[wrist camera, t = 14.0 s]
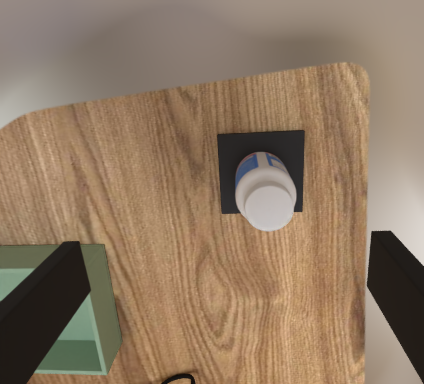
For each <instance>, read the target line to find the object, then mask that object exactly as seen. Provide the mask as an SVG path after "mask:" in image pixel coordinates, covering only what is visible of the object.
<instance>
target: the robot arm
mask: <svg viewBox="0 0 424 384" xmlns="http://www.w3.org/2000/svg"><path fill="white" fill-rule="evenodd" d="M367 287H368V289H369V291H370V292H371V294H372V296H373V297H374V299H375V301H376V303H377V304H378V306H379V308H380V310H381V311H382V313H383V315H384V316H385V318H386V320H387V321H388V323H389V325H390V327H391V329H392V330H393V332H394V334H395V335H396V337H397V339H398V341H399V342H400V344H401V346H402V347H403V349H404V351H405V353H406V354H407V356H408V358H409V360H410V361H411V363H412V365H413V367H414V368H415V370H416V372H417V373H418V375H419V377H420V378H421V380H422V382H423V384H424V266H423V265H422V264H421V263H420V262H419V261H418V260H417V259H416V258H415V256H414V255H413V254H412V253H411V252H410V251H409V250H408V249H407V248H406V247H405V246H404V245H403V244H402V242H401V241H400V240H399V239H398V238H397V237H396V236H395V235H394V234H393V233H392V232H391V231H372V233H371V244H370V256H369V267H368V278H367ZM90 292H91V287H90V283H89V279H88V274H87V270H86V266H85V262H84V258H83V254H82V250H81V246H80V242H79V241H68V242H63V243H62V244H61V245H60V246H59V247H58V248H57V249H56V250H55V251H54V252H52V253H51V254H50V255H49V256H48V257H47V258H46V259H45V260H44V261H43V262H42V263H41V264H40V265H39V266H38V267H37V268H35V269H34V270H33V271H32V272H31V273H30V274H29V275H28V276H27V277H26V278H25V279H24V280H23V281H22V282H21V283H20V284H19V285H17V286H16V287H15V288H14V289H13V290H12V291H11V292H10V293H9V294H8V295H7V296H6V297H5V298H4V299H3V300H2V301H0V384H26V383H27V382H28V381H29V379H30V378H31V376H32V375H33V373H34V372H35V371H36V369H37V368H38V366H39V365H40V363H41V362H42V360H43V359H44V358H45V356H46V355H47V353H48V352H49V350H50V349H51V348H52V346H53V345H54V343H55V342H56V340H57V339H58V338H59V336H60V335H61V333H62V332H63V330H64V329H65V327H66V326H67V325H68V323H69V322H70V320H71V319H72V317H73V316H74V315H75V313H76V312H77V310H78V309H79V307H80V306H81V305H82V303H83V302H84V300H85V299H86V297H87V296H88V294H89V293H90Z"/></svg>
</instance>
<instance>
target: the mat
mask: <svg viewBox="0 0 424 384" xmlns="http://www.w3.org/2000/svg"><path fill="white" fill-rule="evenodd" d="M304 134H305V131H304V130H295V131H274V132H254V133H234V134H218V135H217V139H218V157H219V174H220V192H221V209H222V214H236V213H241V212H240V211H239V209H238V207H237V204H236V198H235V179H236V171H237V168H238V166H239V164H240V162H241V161H242V160H243V159H244V158H245V157H247V156H248V155H250V154H252V153H256V152H267V153H270V154H273V155H275V156H276V157H278V158H279V159H280V160H281V162H282V163H283V164H284V166H285V168H286V170H287V172H288V173H289V175H290V177H291V179H292V181H293V183H294V185H295V188H296V203H295V206H294V212H302V206H303V170H304Z"/></svg>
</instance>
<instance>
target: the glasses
mask: <svg viewBox="0 0 424 384" xmlns="http://www.w3.org/2000/svg"><path fill="white" fill-rule="evenodd" d="M182 378H188V379H191V384H195V379H194V377H193V376H192V375H190V374H179V375H175V376H173V377H170V378H168V379H167V380H165V381H164V382H162V383H161V384H168V383H169V382H171V381H174V380H177V379H182Z"/></svg>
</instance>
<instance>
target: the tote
mask: <svg viewBox="0 0 424 384" xmlns="http://www.w3.org/2000/svg"><path fill="white" fill-rule="evenodd" d="M59 246H60V245H24V246H0V301H2V300H3V299H4V298H5V297H6V296H7V295H8V294H9V293H10V292H11V291H12V290H13V289H14V288H15V287H16V286H17V285H19V284H20V283H21V282H22V281H23V280H24V279H25V278H26V277H27V276H28V275H29V274H30V273H31V272H32V271H33V270H34V269H35V268H37V267H38V266H39V265H40V264H41V263H42V262H43V261H44V260H45V259H46V258H47V257H48V256H49V255H50V254H51V253H52V252H54V251H55V250H56V249H57V248H58V247H59ZM80 246H81V250H82V254H83V258H84V262H85V266H86V270H87V274H88V279H89V283H90V287H91V292H90V293H89V294H88V296H87V297H86V299H85V300H84V302H83V303H82V305H81V306H80V307H79V309H78V310H77V312H76V313H75V315H74V316H73V317H72V319H71V320H70V322H69V323H68V325H67V326H66V327H65V329H64V330H63V332H62V333H61V335H60V336H59V338H58V339H57V340H56V342H55V343H54V345H53V346H52V348H51V349H50V350H49V352H48V353H47V355H46V356H45V358H44V359H43V360H42V362H41V363H40V365H39V366H38V368H37V369H36V371H35V372H34V373H47V374H85V375H107V374H108V372H109V370H110V368H111V365H112V363H113V361H114V359H115V357H116V354H117V352H118V350H119V348H120V346H121V343H122V337H121V332H120V327H119V322H118V316H117V311H116V306H115V300H114V295H113V290H112V285H111V279H110V274H109V269H108V263H107V258H106V253H105V247H104V244H88V245H80Z"/></svg>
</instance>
